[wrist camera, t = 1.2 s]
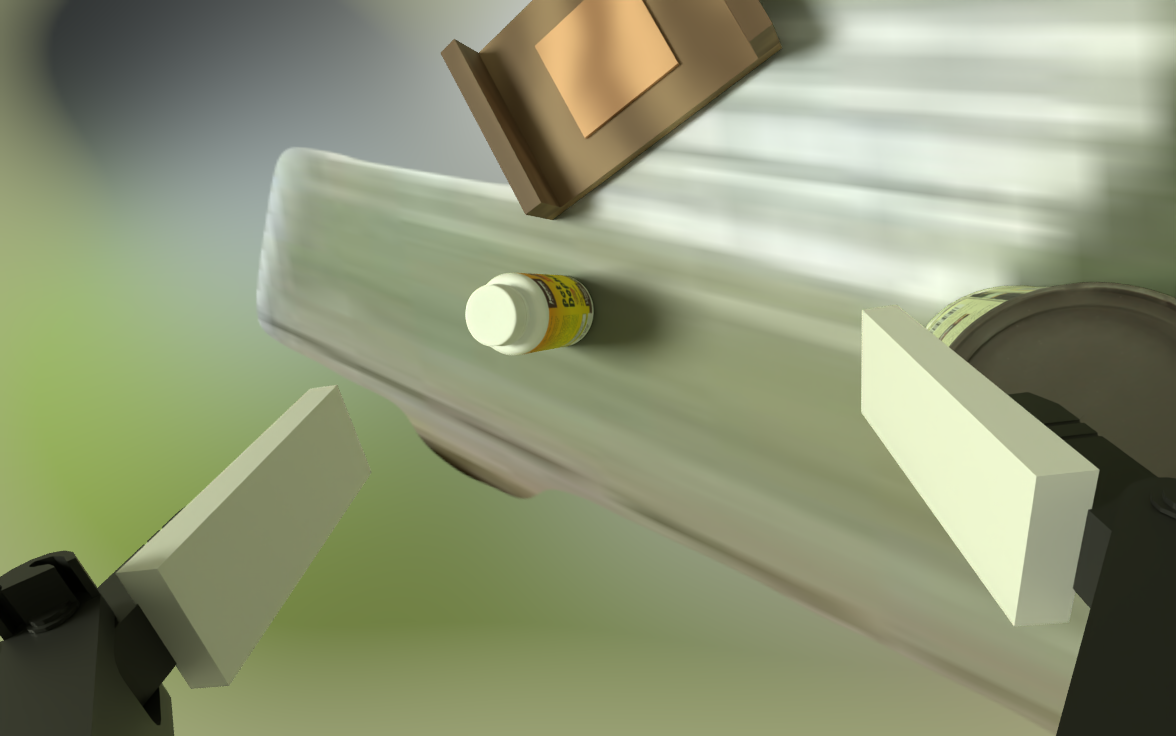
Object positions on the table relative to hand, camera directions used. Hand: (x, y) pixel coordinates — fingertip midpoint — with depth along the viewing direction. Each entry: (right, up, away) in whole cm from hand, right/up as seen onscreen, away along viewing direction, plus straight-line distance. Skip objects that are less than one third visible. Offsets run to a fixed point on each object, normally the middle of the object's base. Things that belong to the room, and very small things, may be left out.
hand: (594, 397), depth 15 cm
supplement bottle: (-2, +5, +33) cm, 33 cm away
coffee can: (+25, +1, +21) cm, 32 cm away
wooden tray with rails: (+1, +23, +28) cm, 36 cm away
